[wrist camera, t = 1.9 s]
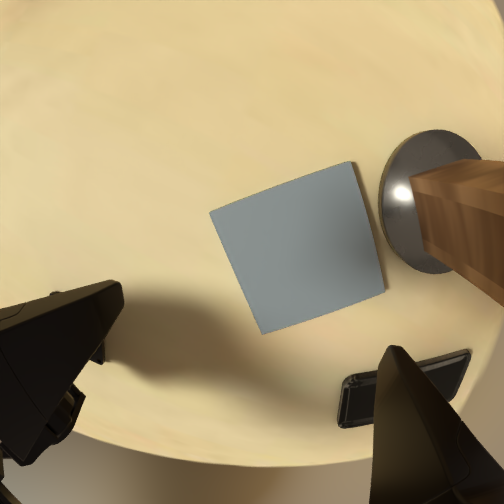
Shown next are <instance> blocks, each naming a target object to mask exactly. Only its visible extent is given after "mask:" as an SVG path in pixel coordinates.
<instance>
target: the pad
mask: <svg viewBox="0 0 504 504" xmlns="http://www.w3.org/2000/svg"><path fill="white" fill-rule="evenodd" d="M209 214H210V217H211V219H212V222H213V224H214V226H215V229H216V231H217V233H218V236H219V238H220V240H221V243H222V245H223V247H224V250H225V252H226V254H227V257H228V259H229V261H230V263H231V266H232V268H233V270H234V273H235V275H236V277H237V279H238V282H239V284H240V286H241V289H242V291H243V293H244V295H245V298H246V300H247V302H248V304H249V307H250V309H251V311H252V313H253V315H254V318H255V320H256V322H257V324H258V326H259V329H260V331H261V333H262V335H263V334H266V333H269V332H273V331H276V330H279V329H283V328H286V327H289V326H292V325H295V324H298V323H301V322H304V321H307V320H311V319H313V318H316V317H319V316H322V315H325V314H328V313H331V312H334V311H337V310H339V309H342V308H345V307H348V306H350V305H353V304H356V303H358V302H361V301H364V300H366V299H369V298H371V297H374V296H376V295H379V294H381V293H384V292H385V288H384V283H383V278H382V273H381V269H380V264H379V260H378V255H377V251H376V247H375V243H374V239H373V235H372V231H371V227H370V223H369V220H368V216H367V213H366V209H365V206H364V202H363V199H362V195H361V192H360V189H359V186H358V183H357V180H356V177H355V173H354V170H353V168H352V165H351V162H350V161H347V162H344V163H341V164H338V165H335V166H332V167H329V168H326V169H323V170H320V171H317V172H314V173H311V174H308V175H305V176H303V177H300V178H297V179H294V180H291V181H289V182H286V183H283V184H280V185H278V186H275V187H272V188H269V189H267V190H264V191H261V192H259V193H256V194H254V195H251V196H248V197H246V198H243V199H241V200H238V201H235V202H233V203H230V204H228V205H225V206H223V207H220V208H218V209H215V210H213V211H211V212H209Z"/></svg>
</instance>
